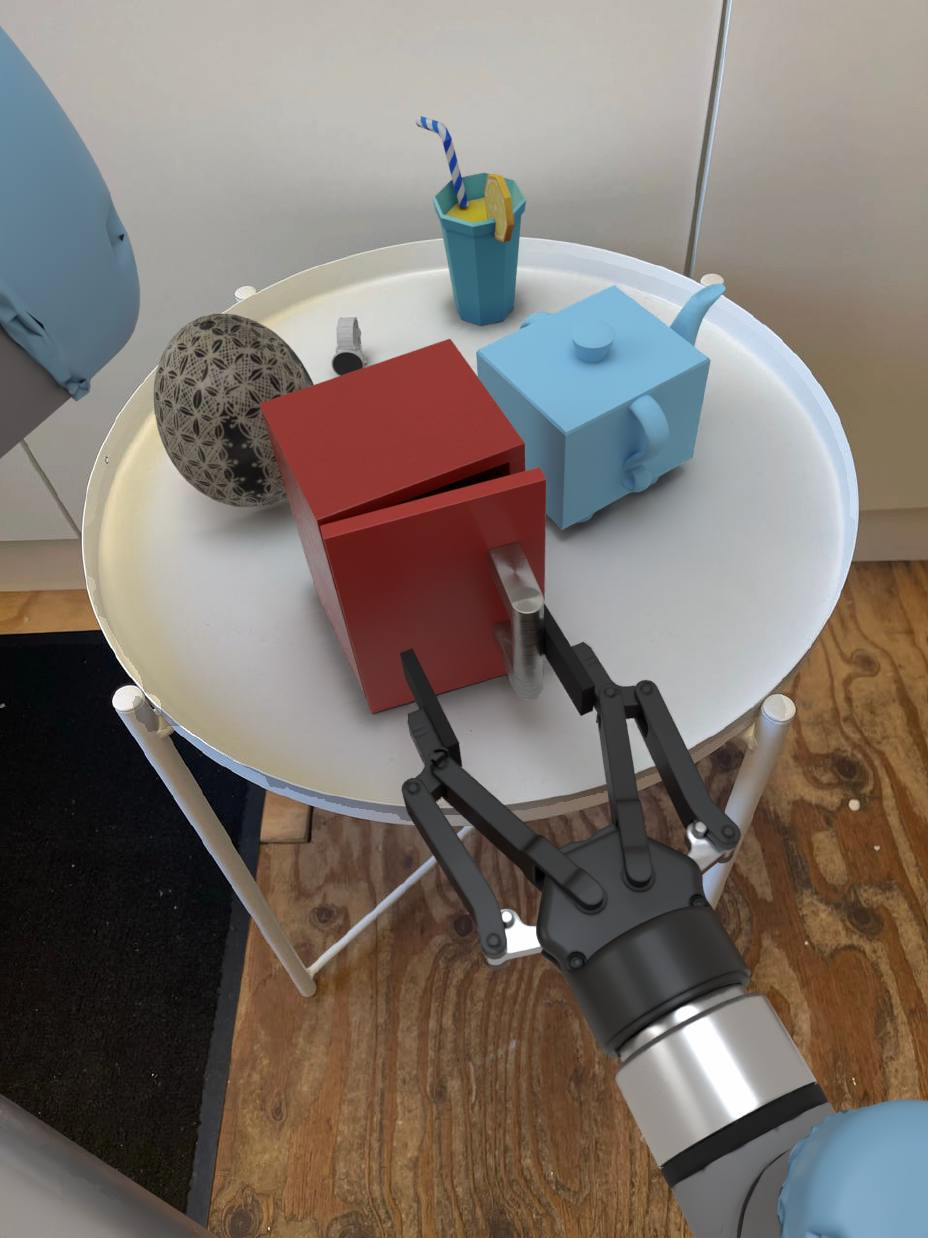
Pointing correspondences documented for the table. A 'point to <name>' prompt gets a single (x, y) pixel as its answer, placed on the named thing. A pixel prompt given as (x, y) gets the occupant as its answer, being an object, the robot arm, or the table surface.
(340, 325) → the wristwatch
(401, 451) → the red cabinet body
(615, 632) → the table surface
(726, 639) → the table surface
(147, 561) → the table surface
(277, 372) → the decorative egg
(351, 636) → the cabinet door
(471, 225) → the cup
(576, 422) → the teapot
